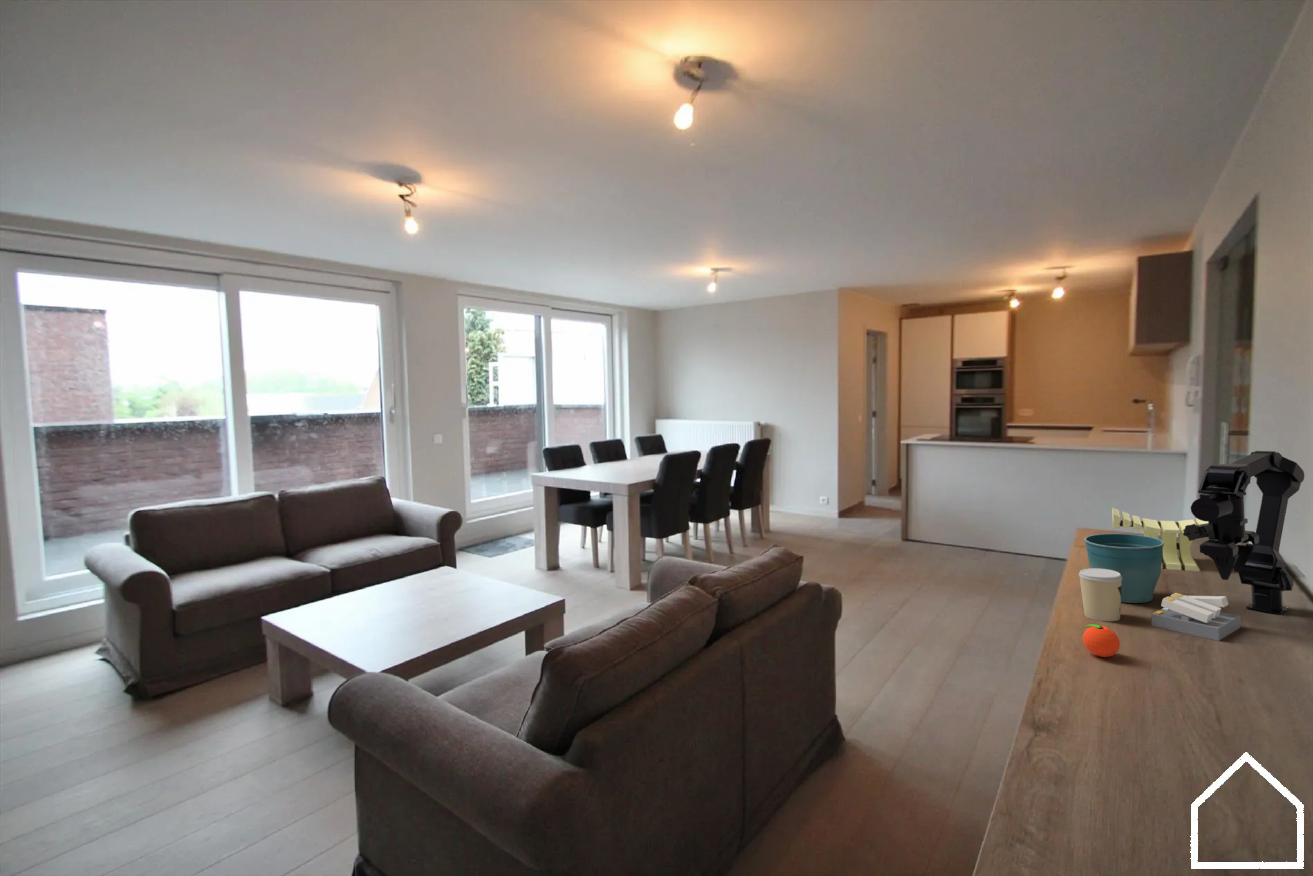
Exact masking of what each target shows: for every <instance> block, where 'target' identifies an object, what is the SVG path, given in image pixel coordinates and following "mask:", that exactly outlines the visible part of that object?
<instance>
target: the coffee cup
mask: <svg viewBox="0 0 1313 876" xmlns="http://www.w3.org/2000/svg"><path fill="white" fill-rule="evenodd" d="M1078 577H1079V583H1080V589H1081V599H1082V606H1083V612H1084V615H1085V617H1087V618H1089V619H1092V620H1095V621H1101V622H1117V621H1120V619H1121V611H1122V609H1121V608H1122V602H1121V582H1122V581H1121V580H1122V576H1121V574H1120V573H1118V572H1116V571H1113V570H1108V569H1099V568H1089V567H1088V568H1084V569H1081V570H1079V573H1078Z"/></svg>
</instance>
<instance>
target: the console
mask: <svg viewBox="0 0 1313 876" xmlns="http://www.w3.org/2000/svg"><path fill="white" fill-rule="evenodd" d="M1150 616H1151V626H1152V627H1154V628H1155V627H1156V628H1160V629H1165V630H1170V631H1174V632H1177V633H1183V634H1187V635H1191V636H1195V637H1199V638H1204V639H1209V640H1212V641H1217V642H1220V641H1221V640H1223V639H1224V638H1226V637H1228V636H1230V635H1231V634H1233V633H1235V632H1236V631H1237V630H1239V629H1241V616H1240V615H1238V614H1233V613H1229V612H1222V611H1220V615H1219V616H1218V617H1216V618H1212V620H1211V621H1209V622H1207V623H1205V622H1202V621H1200V620H1197V619H1194V618H1192V617H1189V616H1186V615H1184V614H1181V613H1178V612H1175V611H1173V610H1170V609H1167V608H1165V607H1163V608H1161V609H1158V610H1157V611H1154V612H1153V613H1151V615H1150Z"/></svg>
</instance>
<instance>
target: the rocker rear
mask: <svg viewBox="0 0 1313 876" xmlns="http://www.w3.org/2000/svg"><path fill="white" fill-rule="evenodd" d="M1183 595H1184V596H1187V597H1190V598H1193V599H1196V600H1199V601H1202V602H1205V603H1207V604H1210V605H1213V606H1216V607H1219V608H1225V607H1227V606H1229V601H1228V598H1227V596H1225V595H1224V596H1223V595H1221V596H1220V595H1219V596H1217V595H1189V594H1188V595H1186V594H1183Z"/></svg>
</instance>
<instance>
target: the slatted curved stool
mask: <svg viewBox="0 0 1313 876" xmlns="http://www.w3.org/2000/svg"><path fill="white" fill-rule="evenodd" d="M1111 515H1112V518H1111V519H1112V520H1111V521H1112V529H1113V530H1115V529H1120V527H1122V528H1123V529H1131V528H1132V529H1133V530H1135V531H1138V532H1141V530H1142V534H1143V536H1148V537H1153V538H1157V539H1159V536H1160V540H1161V541H1163V542H1164V545H1163V554H1162V566H1161V570H1162V569H1165V570H1172V571H1182V570H1184V571H1187V572H1199V571H1201V569H1200V567H1199V566H1198V564H1197V563H1196V561H1195V560H1194V558H1193V557H1192V553H1191V548H1192V544H1193V542H1194V540H1192V541H1189V539H1188V537H1187V536H1184V535H1183V533H1184V531H1183V530H1184V529H1185V526H1187V525H1192V524H1195V525H1200V524H1206V523H1209V521H1202V520H1199V519H1197V518H1196V517H1195V520H1194V519H1193V518H1192V519H1185V520H1177V521H1175V520H1159V521H1158V520H1157V519H1151V518H1145V517H1142V520H1141V518H1140V516H1138V515H1134V514H1132V515H1131V516H1130V513H1128V512H1126V511H1121V514H1120V510H1119V509H1118V508H1115V507H1111ZM1121 517H1122V518H1121ZM1131 517H1132V519H1131ZM1159 533H1160V535H1159ZM1177 536H1178V542H1177ZM1178 554H1179V555H1178Z"/></svg>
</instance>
